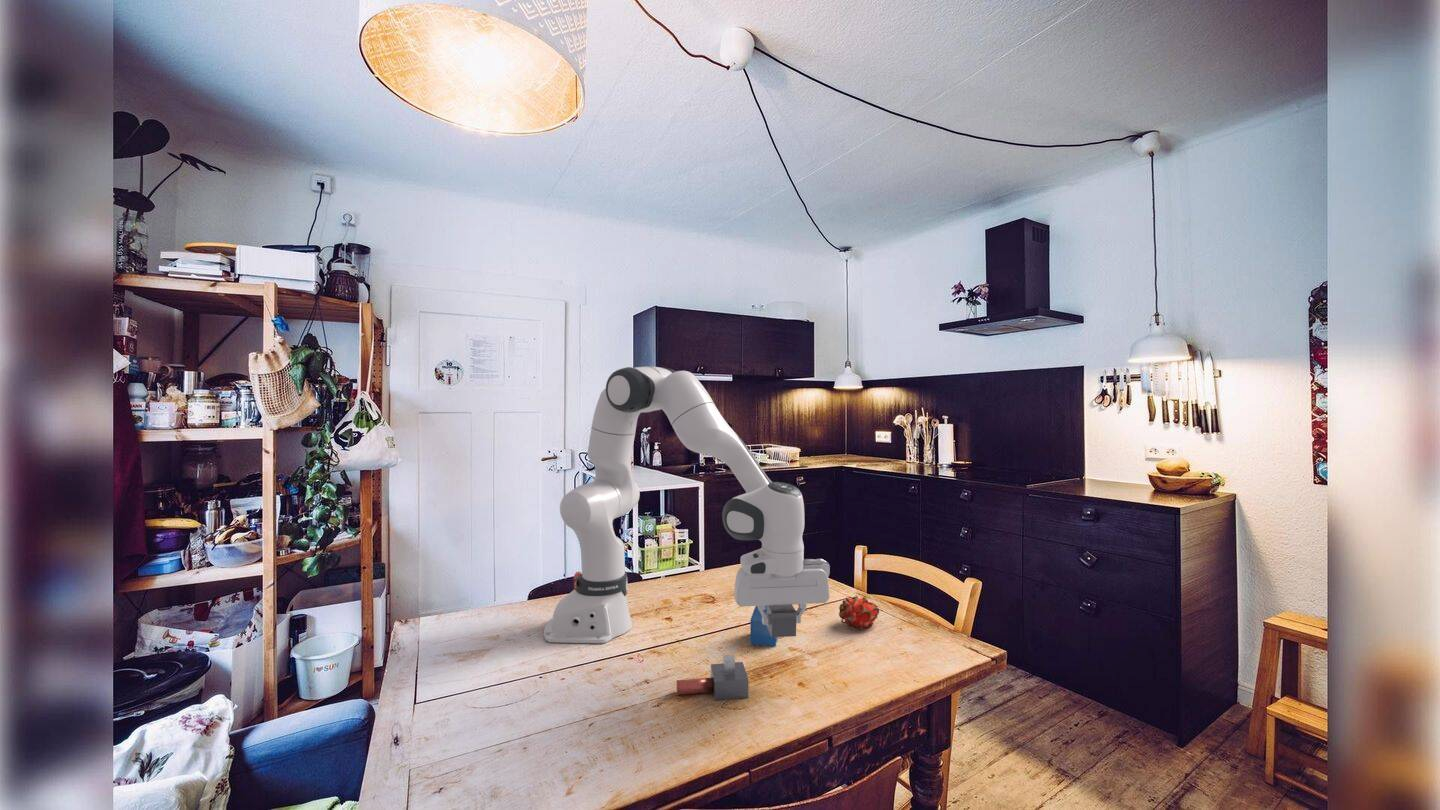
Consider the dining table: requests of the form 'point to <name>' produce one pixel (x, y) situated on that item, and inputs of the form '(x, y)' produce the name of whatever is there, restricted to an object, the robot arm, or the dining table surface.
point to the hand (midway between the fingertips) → (781, 623)
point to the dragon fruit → (858, 612)
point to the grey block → (782, 620)
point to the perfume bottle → (760, 630)
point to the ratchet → (719, 681)
